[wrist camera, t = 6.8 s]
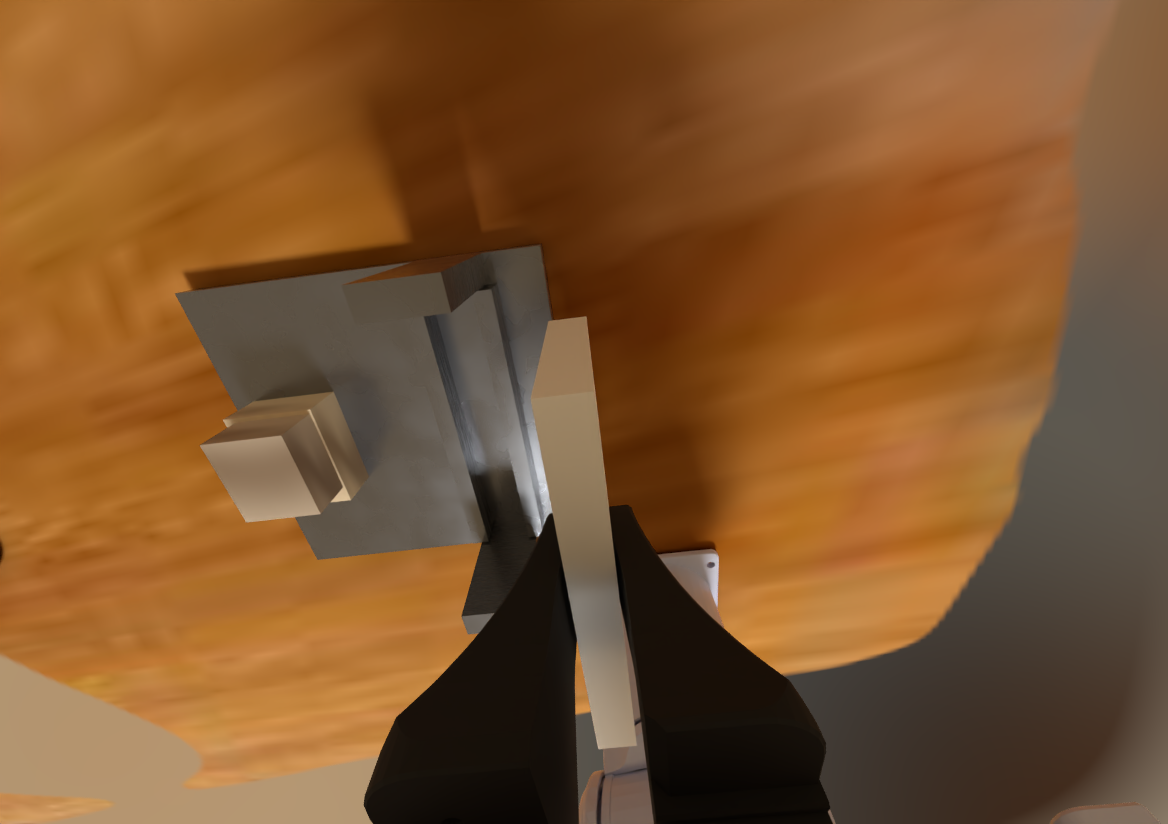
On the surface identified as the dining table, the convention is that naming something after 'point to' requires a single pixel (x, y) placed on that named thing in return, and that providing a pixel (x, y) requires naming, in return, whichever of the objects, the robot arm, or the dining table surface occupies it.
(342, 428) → the block
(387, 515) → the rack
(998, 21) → the dining table surface
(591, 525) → the cream rectangular block
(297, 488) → the offcut top
